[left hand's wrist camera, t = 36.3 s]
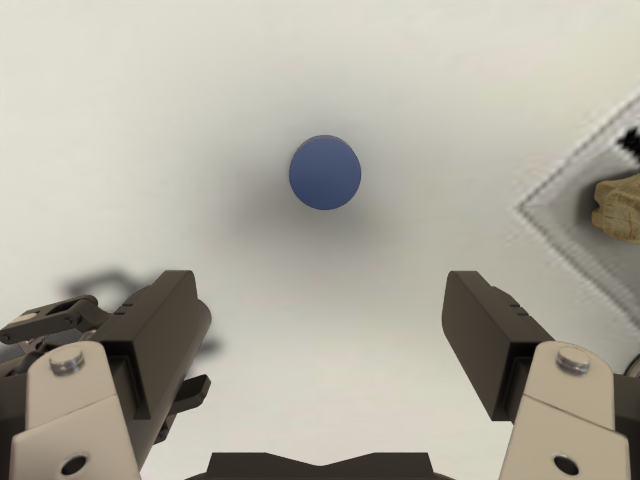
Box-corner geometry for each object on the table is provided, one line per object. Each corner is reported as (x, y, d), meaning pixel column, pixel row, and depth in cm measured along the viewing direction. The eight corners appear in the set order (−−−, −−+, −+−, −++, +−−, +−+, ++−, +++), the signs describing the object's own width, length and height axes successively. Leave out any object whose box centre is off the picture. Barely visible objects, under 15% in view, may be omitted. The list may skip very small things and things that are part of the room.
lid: (370, 156, 27) (374, 161, 24) (336, 212, 28) (338, 221, 26) (311, 122, 26) (310, 124, 23) (280, 181, 27) (277, 189, 25)
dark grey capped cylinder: (220, 315, 32) (97, 589, 14) (193, 343, 33) (47, 630, 15) (181, 286, 31) (-8, 546, 13) (154, 317, 32) (-54, 594, 14)
